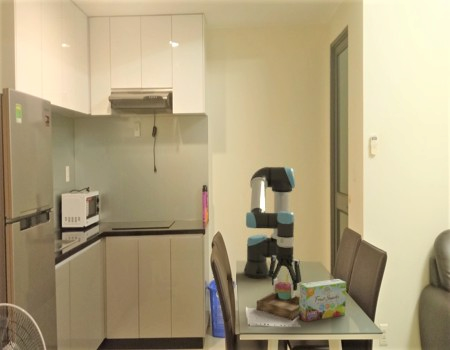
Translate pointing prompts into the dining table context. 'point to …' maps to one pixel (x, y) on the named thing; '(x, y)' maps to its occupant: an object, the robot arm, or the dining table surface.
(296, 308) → the walnut tray
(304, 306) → the snack box
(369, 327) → the dining table surface
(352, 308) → the dining table surface
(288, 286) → the cupcake
